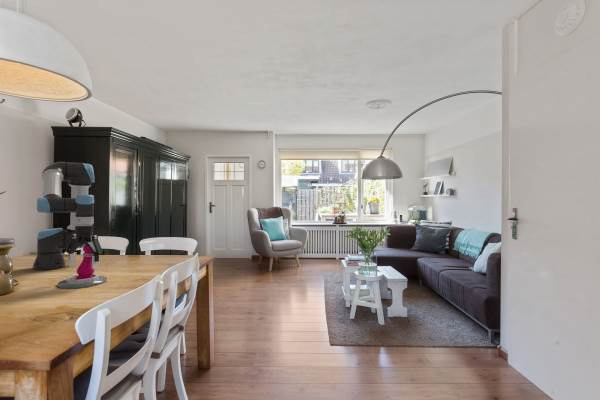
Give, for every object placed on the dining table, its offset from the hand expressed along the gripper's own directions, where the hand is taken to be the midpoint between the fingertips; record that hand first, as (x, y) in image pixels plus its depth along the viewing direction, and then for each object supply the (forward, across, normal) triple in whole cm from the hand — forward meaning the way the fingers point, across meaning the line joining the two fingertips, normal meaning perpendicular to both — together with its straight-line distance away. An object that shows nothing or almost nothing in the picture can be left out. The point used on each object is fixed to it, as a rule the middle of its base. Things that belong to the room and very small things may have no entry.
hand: (83, 267), depth 149 cm
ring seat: (+8, 0, 0) cm, 8 cm away
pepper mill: (+6, 0, 0) cm, 6 cm away
